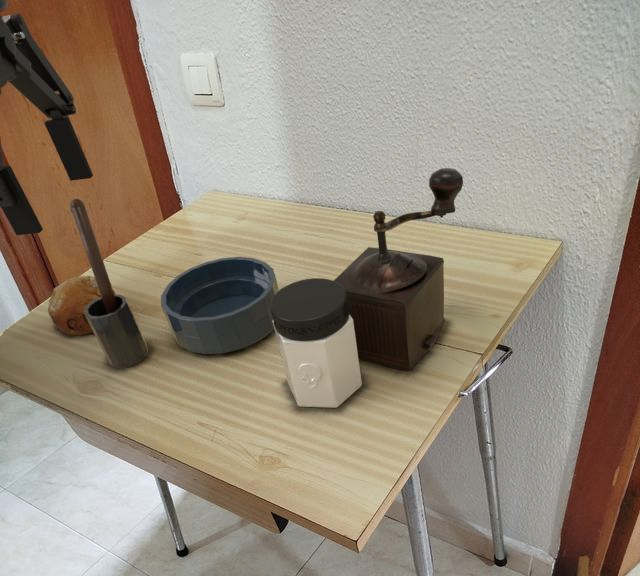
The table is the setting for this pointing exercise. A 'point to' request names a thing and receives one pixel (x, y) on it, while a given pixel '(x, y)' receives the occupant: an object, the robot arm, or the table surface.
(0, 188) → the robot arm
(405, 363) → the manual coffee grinder
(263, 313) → the bowl
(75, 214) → the stick
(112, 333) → the holder
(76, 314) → the bread roll
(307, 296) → the jar
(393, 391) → the table surface
